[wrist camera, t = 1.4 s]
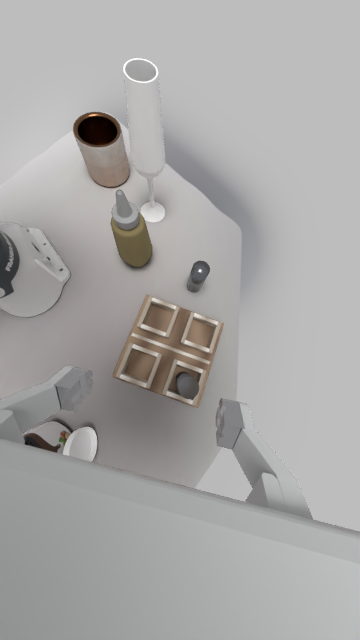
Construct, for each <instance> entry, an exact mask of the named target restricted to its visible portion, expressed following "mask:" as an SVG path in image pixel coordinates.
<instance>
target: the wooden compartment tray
mask: <svg viewBox="0 0 360 640" xmlns="http://www.w3.org/2000/svg"><path fill="white" fill-rule="evenodd" d="M223 325H224V323H221V322H218V321H215V320H213V319H210V318H207V317H205V316H202V315H199V314H197V313H194V312H191V311H189V310H186V309H183V308H181V307H178V306H175V305H173V304H170V303H167V302H165V301H162V300H159V299H157V298H154V297H151V296H149V295H146V297H145V299H144V302H143V304H142V307H141V309H140V311H139V314H138V316H137V318H136V321H135V323H134V325H133V328H132V330H131V332H130V335H129V337H128V339H127V342H126V344H125V346H124V349H123V351H122V353H121V356H120V358H119V360H118V363H117V365H116V367H115V370H114V372H113V374H112V377H114V378H117V379H119V380H122V381H125V382H128V383H130V384H133V385H136V386H139V387H141V388H144V389H147V390H150V391H152V392H155V393H158V394H161V395H164V396H166V397H169V398H172V399H175V400H177V401H180V402H183V403H186V404H188V405H191V406H194V407H197V408H198V406H199V403H200V400H201V396H202V393H203V390H204V387H205V383H206V380H207V377H208V374H209V370H210V367H211V364H212V361H213V357H214V354H215V351H216V348H217V344H218V341H219V338H220V335H221V331H222V328H223Z"/></svg>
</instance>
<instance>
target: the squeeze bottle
mask: <svg viewBox="0 0 360 640" xmlns="http://www.w3.org/2000/svg"><path fill="white" fill-rule="evenodd" d="M112 216H113V217H112V219H111V227H112V231H113V234H114V238H115V241H116V245H117V248H118V252H119V255H120V256H121V258H122V259H123V260H124V261H126V262H127V263H128V264H130V265H132V266H134V267H140V266H143V265H145V264H146V263H147V262H148V260H149V258H150V256H151V254H152V244H151V241H150V237H149V234H148V230H147V227H146V223H145V220H144V217H143V216H142V215H141V214H140V213H139V212H138V209H137V207H136V206H135V205H134V204H133V203H131V202H128V200H127V198H126V196H125V194H124V193H123V191H122V190H117V191H116V204H115V205H114V207H113V208H112Z"/></svg>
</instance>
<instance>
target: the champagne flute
mask: <svg viewBox="0 0 360 640" xmlns="http://www.w3.org/2000/svg"><path fill="white" fill-rule="evenodd" d="M123 71H124V82H125V93H126V104H127V116H128V128H129V139H130V150H131V160H132V164H133V166H134V167H135V169H136V170H137V171H138V172H139V173H140V174H141V175H142V176H144V177H146V178H147V180H148V190H149V200H150V202H147V203H145V204H144V205H143V206H142V208H141V215H142V216H143V217H144V219H145V220H146V221H148V222H158V221H160V220H162V219H163V217H164V215H165V210H164V208H163V206H162V205H161V204H159V203H157V202H154V191H153V178H154V177H156V176H158V175H159V174H160V172H161V171H162V169H163V168H164V165H165V153H164V139H163V127H162V115H161V102H160V90H159V78H158V69H157V67H156V66H155V65H154V64H153V63H152V62H150V61H148V60H145V59H141V58H135V59H131V60H129V61H127V62H126V63H125V64H124V67H123Z"/></svg>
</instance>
